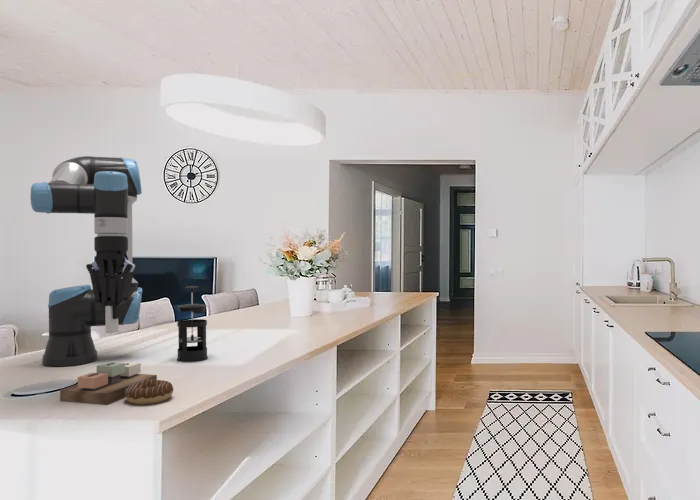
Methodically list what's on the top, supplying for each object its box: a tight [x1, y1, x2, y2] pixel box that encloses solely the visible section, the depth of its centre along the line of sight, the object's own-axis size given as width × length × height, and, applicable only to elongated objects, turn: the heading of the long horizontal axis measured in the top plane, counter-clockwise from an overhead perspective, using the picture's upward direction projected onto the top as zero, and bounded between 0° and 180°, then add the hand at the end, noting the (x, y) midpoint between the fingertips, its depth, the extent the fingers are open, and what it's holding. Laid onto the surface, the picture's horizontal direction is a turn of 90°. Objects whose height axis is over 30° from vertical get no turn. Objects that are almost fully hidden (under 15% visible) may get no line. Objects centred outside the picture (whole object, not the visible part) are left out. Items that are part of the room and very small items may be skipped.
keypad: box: [59, 373, 158, 406], centre depth 131 cm, size 13×18×4 cm
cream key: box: [120, 361, 142, 376], centre depth 137 cm, size 4×4×3 cm
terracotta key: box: [77, 372, 108, 389], centre depth 125 cm, size 4×4×3 cm
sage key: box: [96, 361, 125, 377], centre depth 131 cm, size 4×4×3 cm
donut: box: [124, 379, 174, 406], centre depth 125 cm, size 11×11×4 cm
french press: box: [176, 285, 209, 363], centre depth 170 cm, size 12×9×23 cm
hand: (112, 332), depth 131 cm, fingers closed
